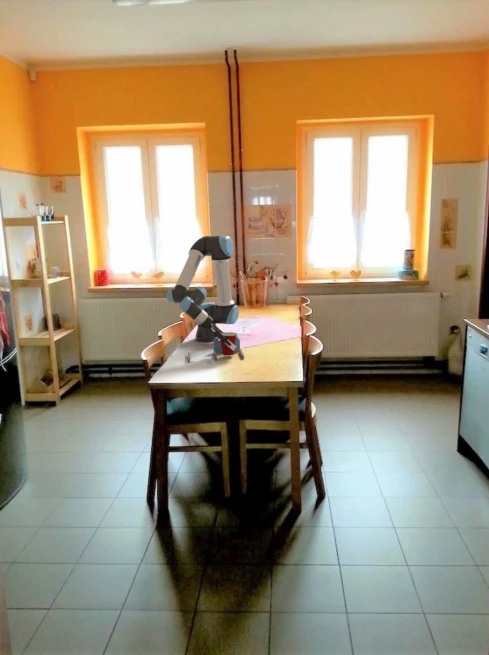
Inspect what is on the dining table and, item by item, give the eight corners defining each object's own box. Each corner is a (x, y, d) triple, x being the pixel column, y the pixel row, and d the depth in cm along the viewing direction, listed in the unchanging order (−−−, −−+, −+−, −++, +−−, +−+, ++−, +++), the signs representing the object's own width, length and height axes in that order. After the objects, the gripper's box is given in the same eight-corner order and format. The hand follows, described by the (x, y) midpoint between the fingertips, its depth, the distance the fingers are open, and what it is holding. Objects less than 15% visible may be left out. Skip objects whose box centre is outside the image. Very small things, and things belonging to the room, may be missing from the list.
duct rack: (187, 353, 285) (186, 339, 283) (240, 350, 288) (239, 336, 287) (188, 362, 268) (187, 346, 266) (244, 359, 271) (243, 343, 269)
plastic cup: (241, 352, 280) (240, 331, 278) (234, 357, 270) (233, 335, 268) (222, 351, 284) (222, 330, 281) (215, 356, 274) (214, 334, 271)
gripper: (198, 320, 282) (227, 346, 287) (199, 329, 261) (231, 356, 266) (207, 311, 281) (236, 337, 287) (209, 318, 260) (241, 346, 265)
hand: (233, 346), depth 276 cm, fingers closed on plastic cup, 9 cm apart
